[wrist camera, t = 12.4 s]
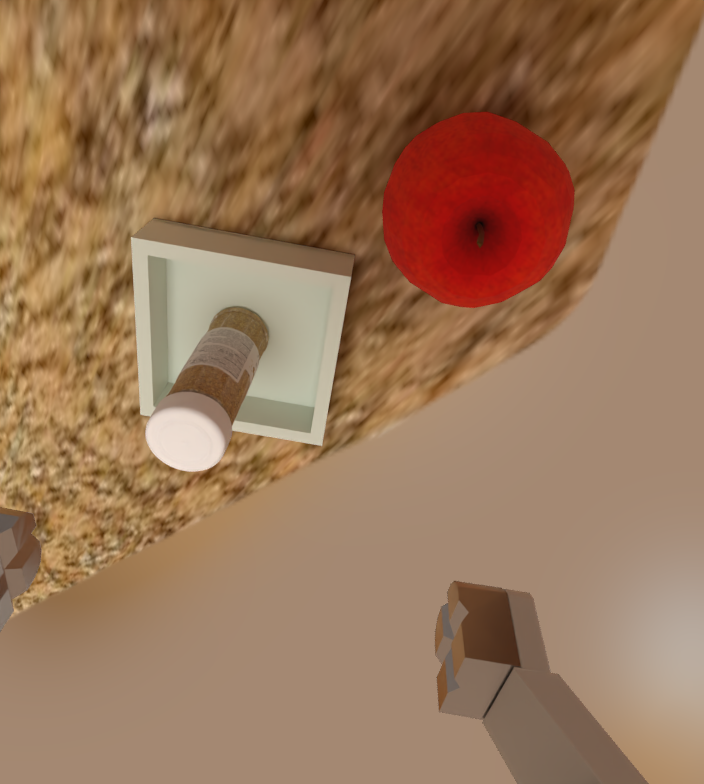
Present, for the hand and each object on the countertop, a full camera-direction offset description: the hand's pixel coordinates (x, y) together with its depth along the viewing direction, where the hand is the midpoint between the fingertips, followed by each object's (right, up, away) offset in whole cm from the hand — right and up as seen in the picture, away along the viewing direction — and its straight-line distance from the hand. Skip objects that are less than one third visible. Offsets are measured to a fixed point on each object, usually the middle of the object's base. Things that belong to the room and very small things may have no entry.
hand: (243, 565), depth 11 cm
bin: (-6, +8, +32) cm, 34 cm away
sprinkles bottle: (-6, +8, +32) cm, 34 cm away
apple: (+9, +17, +26) cm, 32 cm away
